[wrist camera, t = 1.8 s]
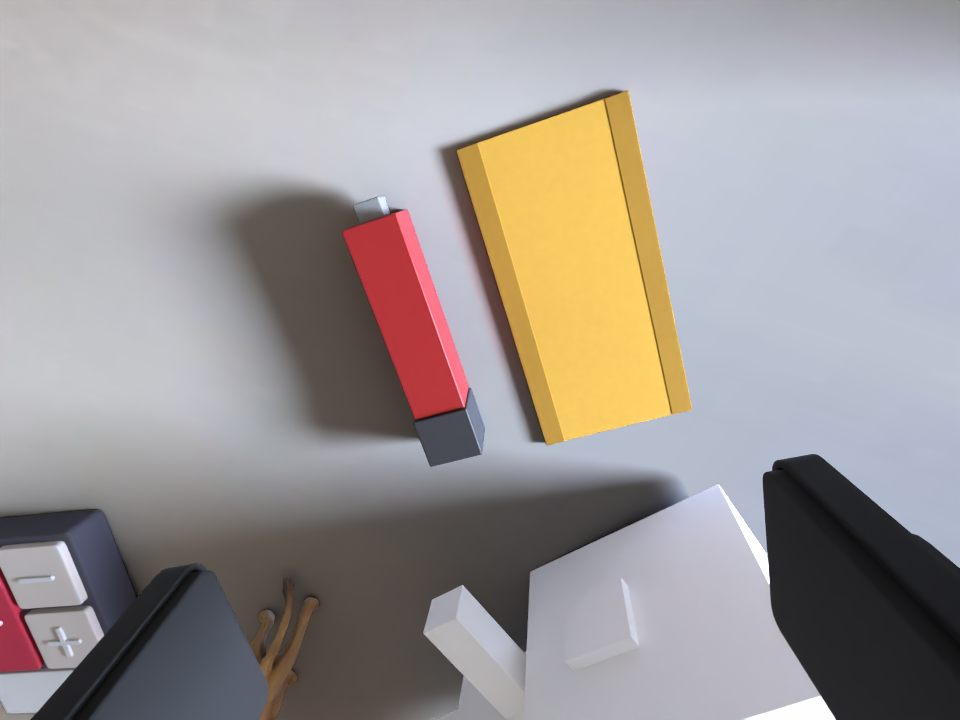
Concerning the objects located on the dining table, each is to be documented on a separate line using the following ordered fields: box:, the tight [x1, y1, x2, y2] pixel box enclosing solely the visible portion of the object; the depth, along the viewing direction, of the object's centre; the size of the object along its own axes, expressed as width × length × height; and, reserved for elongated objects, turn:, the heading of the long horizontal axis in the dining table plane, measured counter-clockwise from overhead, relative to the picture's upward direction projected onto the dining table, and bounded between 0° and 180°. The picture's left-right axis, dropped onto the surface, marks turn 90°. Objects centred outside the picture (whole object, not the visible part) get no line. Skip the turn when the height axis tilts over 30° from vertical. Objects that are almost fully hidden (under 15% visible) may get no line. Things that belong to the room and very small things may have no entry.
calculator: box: [0, 509, 137, 713], centre depth 37 cm, size 11×4×15 cm
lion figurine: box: [250, 576, 319, 720], centre depth 35 cm, size 15×5×9 cm, turn 169°
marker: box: [342, 196, 485, 467], centre depth 29 cm, size 3×15×3 cm, turn 17°
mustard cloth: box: [456, 91, 692, 445], centre depth 29 cm, size 9×18×1 cm, turn 17°
